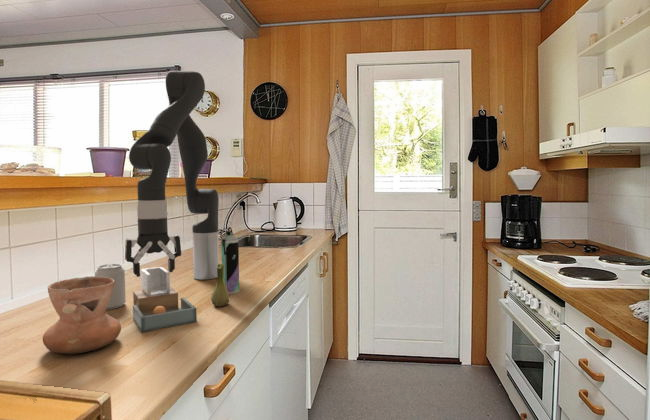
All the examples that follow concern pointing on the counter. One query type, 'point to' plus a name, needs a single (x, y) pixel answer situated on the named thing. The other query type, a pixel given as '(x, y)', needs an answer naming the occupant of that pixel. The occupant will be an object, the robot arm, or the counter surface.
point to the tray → (165, 317)
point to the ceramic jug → (81, 315)
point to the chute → (155, 281)
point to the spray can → (230, 262)
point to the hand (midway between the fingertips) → (154, 274)
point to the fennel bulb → (220, 289)
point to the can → (119, 286)
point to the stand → (155, 301)
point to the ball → (159, 310)
